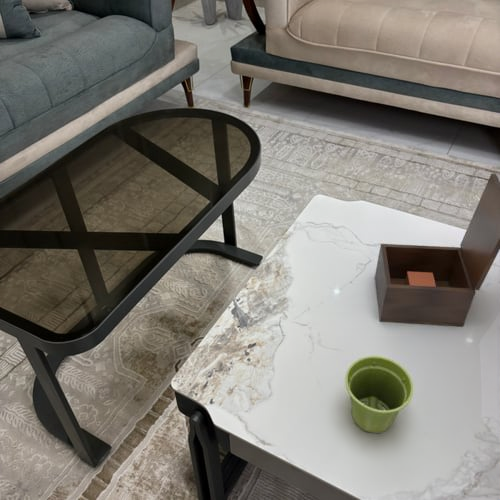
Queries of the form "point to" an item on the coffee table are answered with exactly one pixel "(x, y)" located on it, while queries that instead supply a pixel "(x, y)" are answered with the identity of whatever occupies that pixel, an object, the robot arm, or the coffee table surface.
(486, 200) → the lid
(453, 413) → the coffee table surface
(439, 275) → the chest
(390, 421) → the plant pot
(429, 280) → the block
